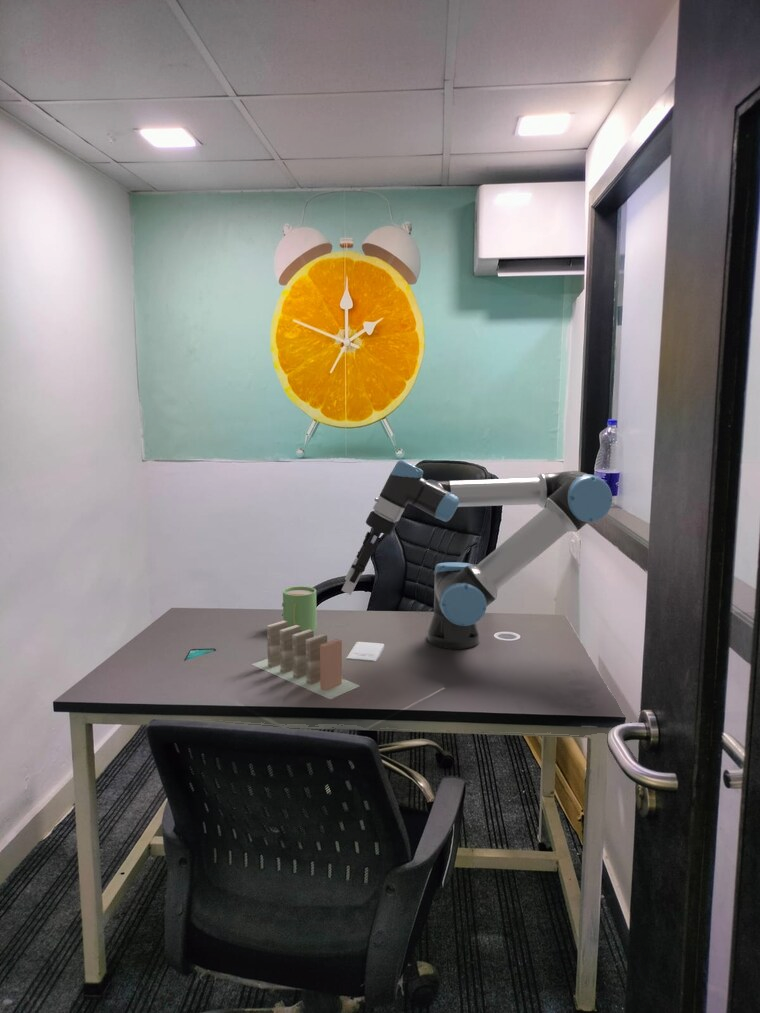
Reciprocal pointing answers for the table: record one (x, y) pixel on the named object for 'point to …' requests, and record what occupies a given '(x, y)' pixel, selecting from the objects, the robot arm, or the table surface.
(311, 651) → the domino
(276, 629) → the domino
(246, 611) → the table surface
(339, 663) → the domino
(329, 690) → the board
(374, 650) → the external hard drive
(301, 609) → the mug
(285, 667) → the domino
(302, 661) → the domino
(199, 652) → the smartphone
